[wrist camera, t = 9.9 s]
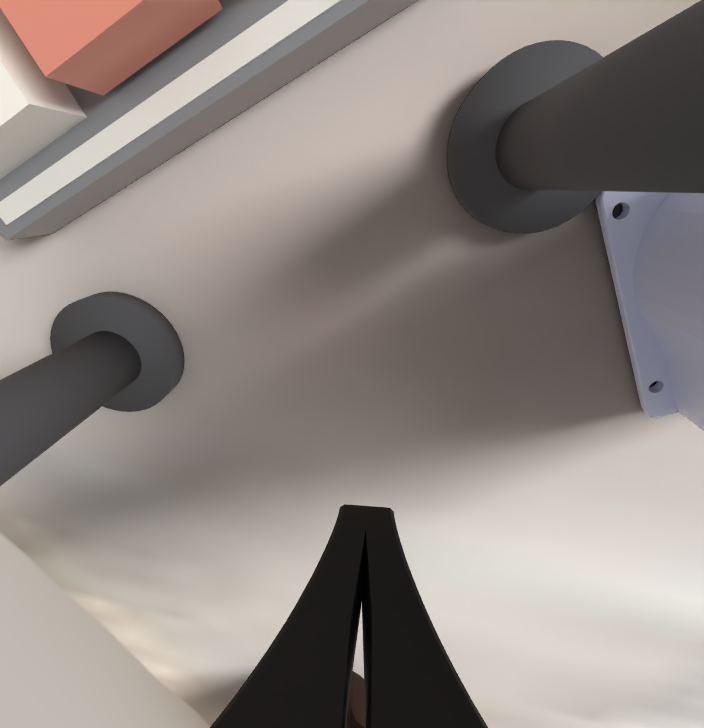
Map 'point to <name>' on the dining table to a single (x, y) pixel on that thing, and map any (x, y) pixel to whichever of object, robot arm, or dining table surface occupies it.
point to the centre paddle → (102, 35)
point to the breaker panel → (152, 103)
